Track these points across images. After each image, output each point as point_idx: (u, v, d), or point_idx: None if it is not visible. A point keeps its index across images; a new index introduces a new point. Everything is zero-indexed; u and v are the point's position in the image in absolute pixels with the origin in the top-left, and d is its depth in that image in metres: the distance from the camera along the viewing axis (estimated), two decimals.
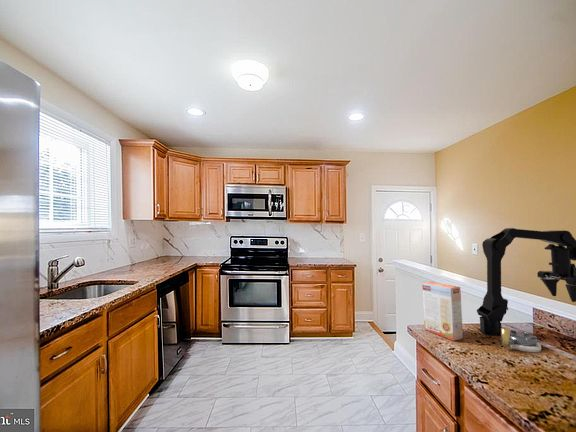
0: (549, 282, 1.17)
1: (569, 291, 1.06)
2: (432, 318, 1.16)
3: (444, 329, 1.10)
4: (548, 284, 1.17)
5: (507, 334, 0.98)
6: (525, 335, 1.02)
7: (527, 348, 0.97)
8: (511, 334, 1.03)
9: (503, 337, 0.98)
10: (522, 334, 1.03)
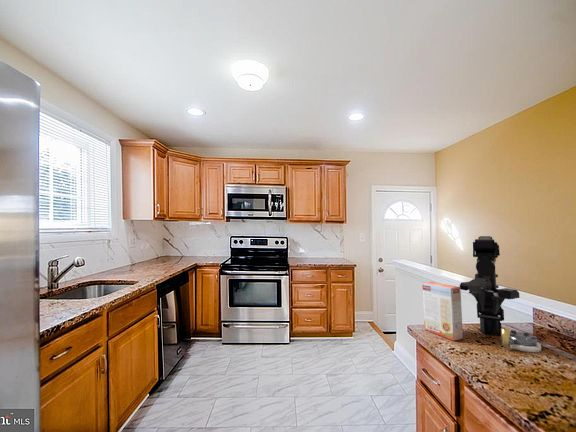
0: None
1: None
2: (432, 318, 1.16)
3: (444, 329, 1.10)
4: None
5: (507, 334, 0.98)
6: (525, 335, 1.02)
7: (527, 348, 0.97)
8: (511, 334, 1.03)
9: (503, 337, 0.98)
10: (522, 334, 1.03)
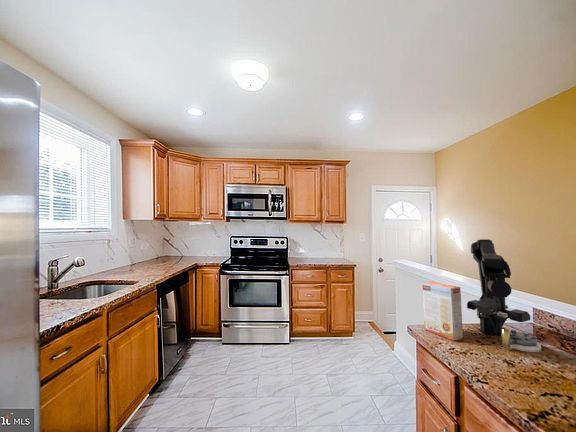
0: None
1: None
2: (432, 318, 1.16)
3: (444, 329, 1.10)
4: None
5: (507, 334, 0.98)
6: (525, 335, 1.02)
7: (527, 348, 0.97)
8: (511, 334, 1.03)
9: (503, 337, 0.98)
10: (522, 334, 1.03)
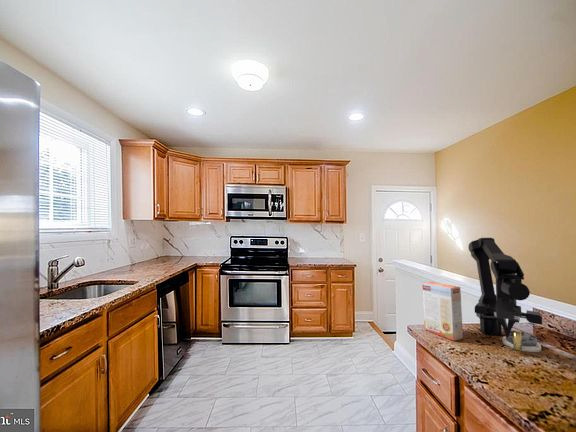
0: None
1: None
2: (432, 318, 1.16)
3: (444, 329, 1.10)
4: None
5: (520, 337, 0.95)
6: (523, 334, 1.03)
7: (527, 348, 0.97)
8: (512, 335, 1.03)
9: (516, 341, 0.95)
10: None
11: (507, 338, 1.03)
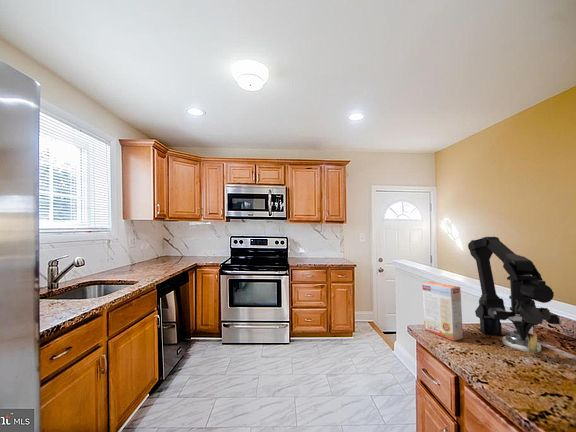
0: None
1: None
2: (432, 318, 1.16)
3: (444, 329, 1.10)
4: None
5: (536, 339, 0.93)
6: None
7: (527, 348, 0.97)
8: (515, 336, 1.01)
9: (534, 343, 0.93)
10: (516, 333, 1.04)
11: (512, 340, 1.01)
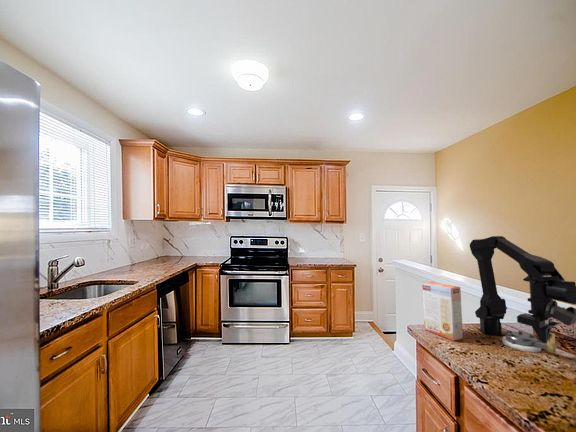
0: None
1: None
2: (432, 318, 1.16)
3: (444, 329, 1.10)
4: None
5: None
6: (515, 333, 1.04)
7: (527, 348, 0.97)
8: None
9: (554, 343, 0.93)
10: (513, 334, 1.04)
11: (522, 343, 0.98)
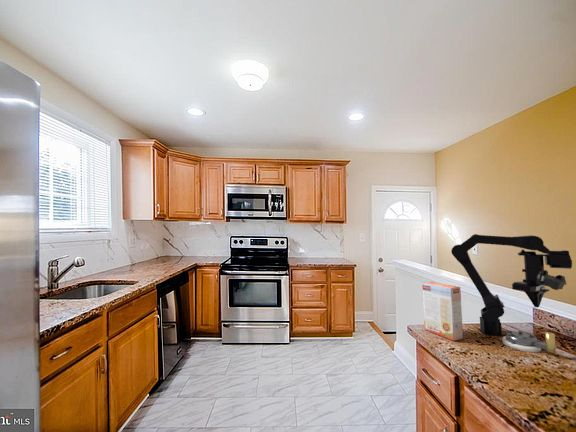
0: None
1: None
2: (432, 318, 1.16)
3: (444, 329, 1.10)
4: None
5: None
6: (515, 333, 1.04)
7: (527, 348, 0.97)
8: None
9: (554, 343, 0.93)
10: (513, 334, 1.04)
11: (522, 343, 0.98)
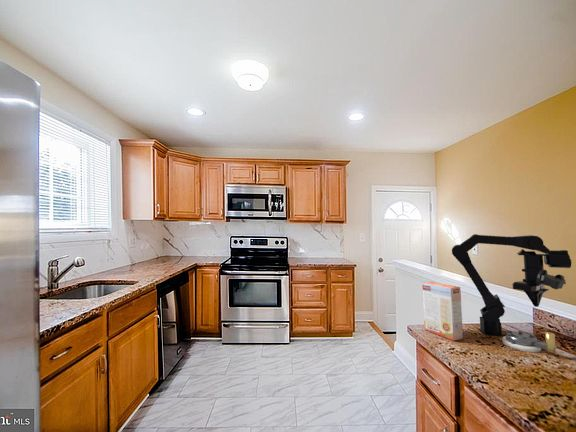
0: None
1: None
2: (432, 318, 1.16)
3: (444, 329, 1.10)
4: None
5: None
6: (515, 333, 1.04)
7: (527, 348, 0.97)
8: None
9: (554, 343, 0.93)
10: (513, 334, 1.04)
11: (522, 343, 0.98)
